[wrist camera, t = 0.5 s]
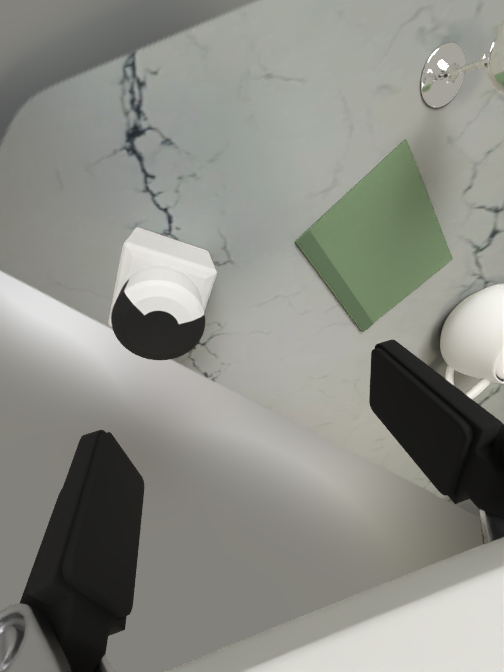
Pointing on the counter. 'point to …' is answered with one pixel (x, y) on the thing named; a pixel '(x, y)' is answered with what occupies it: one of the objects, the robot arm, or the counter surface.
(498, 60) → the wineglass
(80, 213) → the counter surface
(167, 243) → the medicine bottle
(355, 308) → the napkin
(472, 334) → the teapot
